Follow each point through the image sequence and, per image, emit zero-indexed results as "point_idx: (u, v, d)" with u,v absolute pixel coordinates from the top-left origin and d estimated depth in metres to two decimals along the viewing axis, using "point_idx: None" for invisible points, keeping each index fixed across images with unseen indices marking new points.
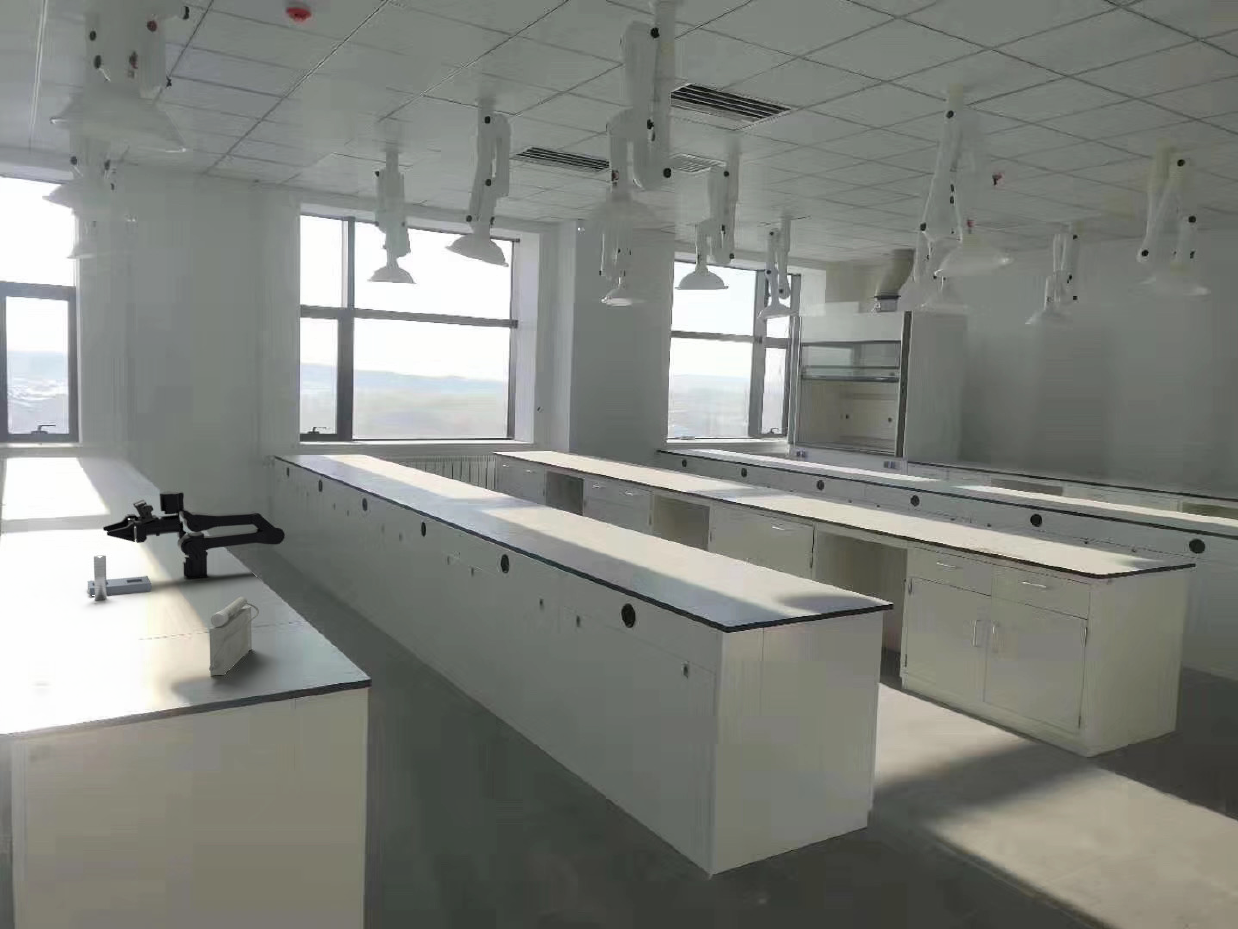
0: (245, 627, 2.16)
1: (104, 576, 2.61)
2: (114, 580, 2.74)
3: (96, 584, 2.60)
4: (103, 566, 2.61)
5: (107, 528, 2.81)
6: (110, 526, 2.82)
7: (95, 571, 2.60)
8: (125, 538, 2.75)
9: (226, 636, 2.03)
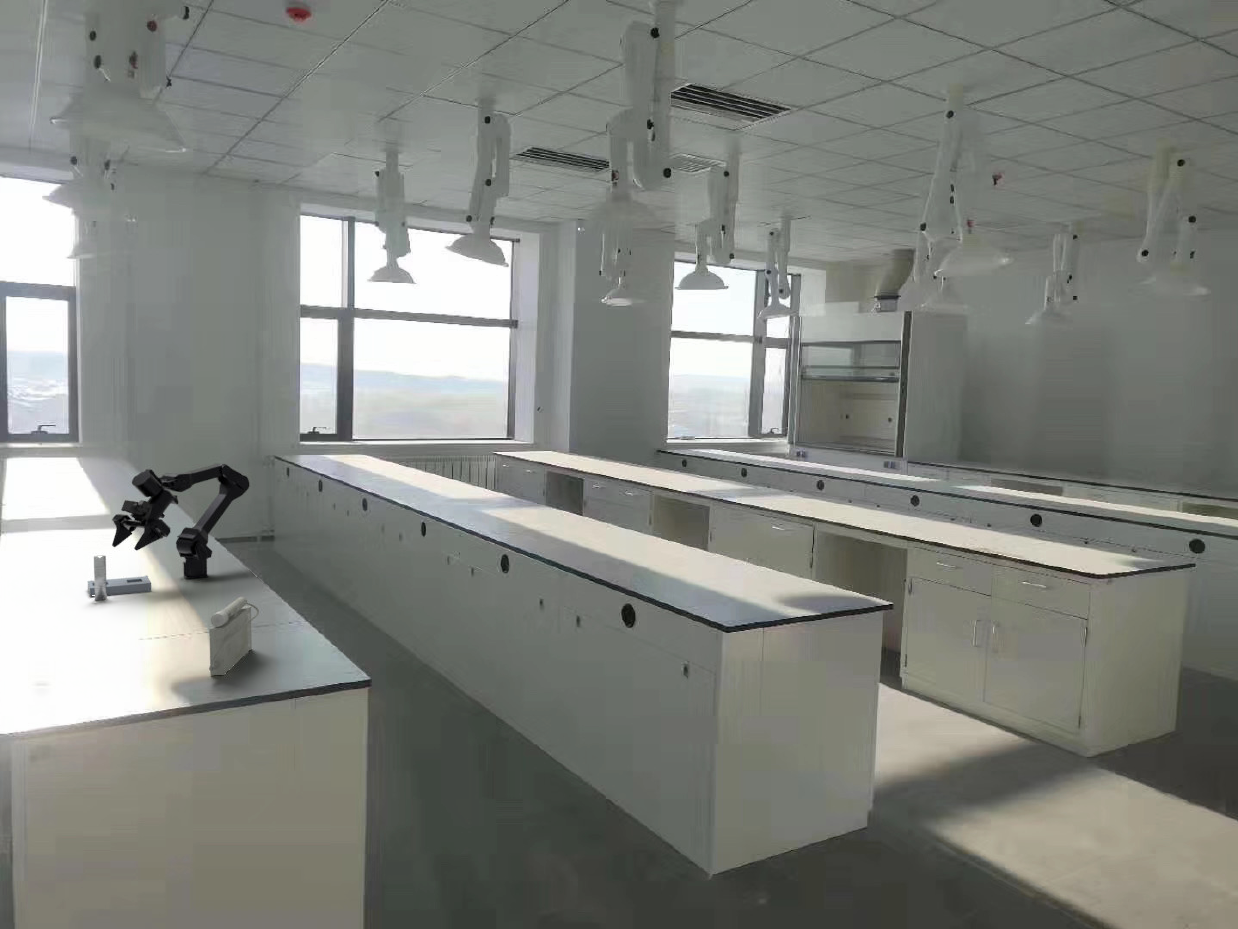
0: (245, 627, 2.16)
1: (104, 576, 2.61)
2: (114, 580, 2.74)
3: (96, 584, 2.60)
4: (103, 566, 2.61)
5: (116, 543, 2.71)
6: (116, 540, 2.71)
7: (95, 571, 2.60)
8: (152, 541, 2.70)
9: (226, 636, 2.03)
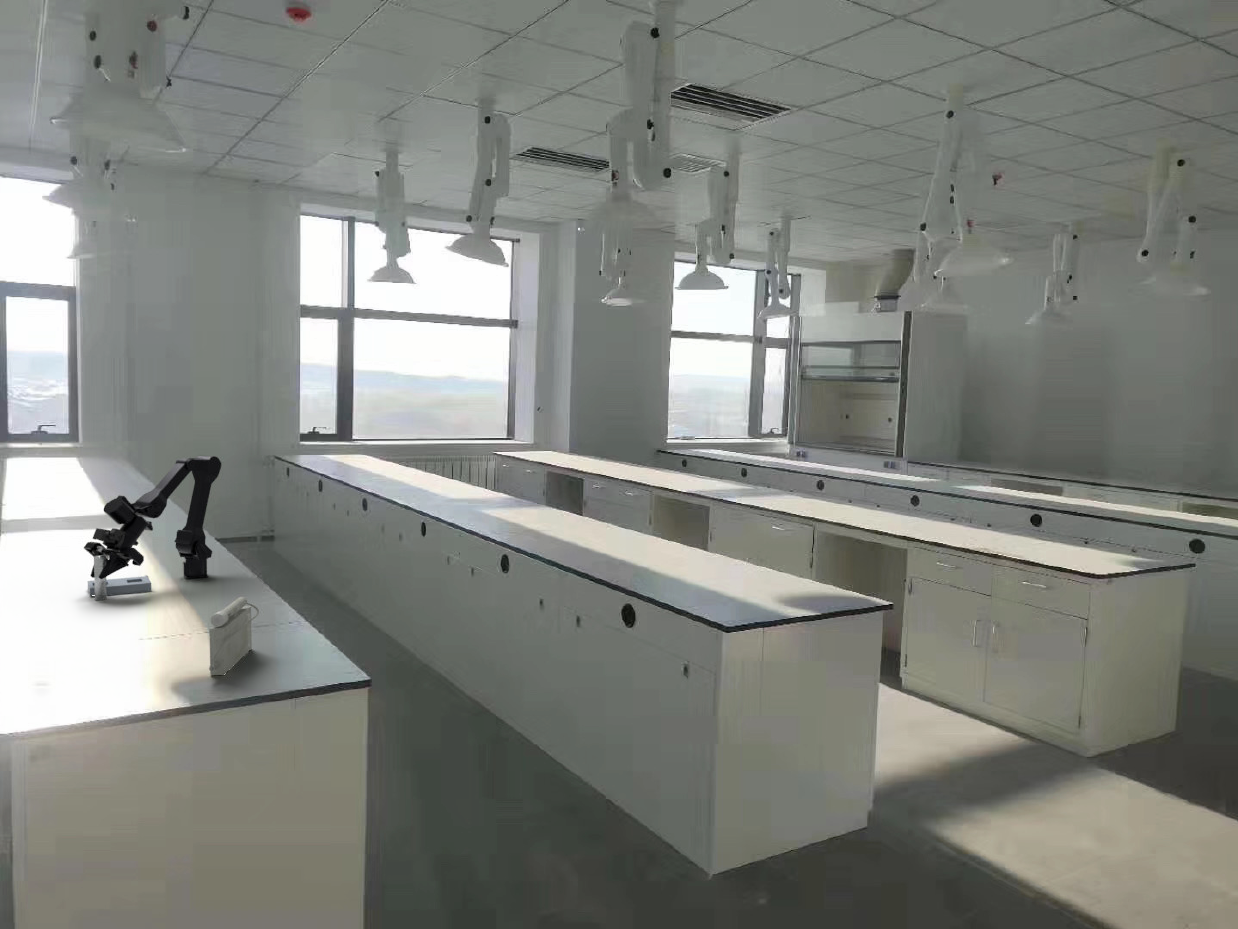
0: (245, 627, 2.16)
1: None
2: (114, 580, 2.74)
3: (96, 584, 2.60)
4: (103, 566, 2.61)
5: None
6: None
7: (95, 571, 2.60)
8: (117, 569, 2.63)
9: (226, 636, 2.03)
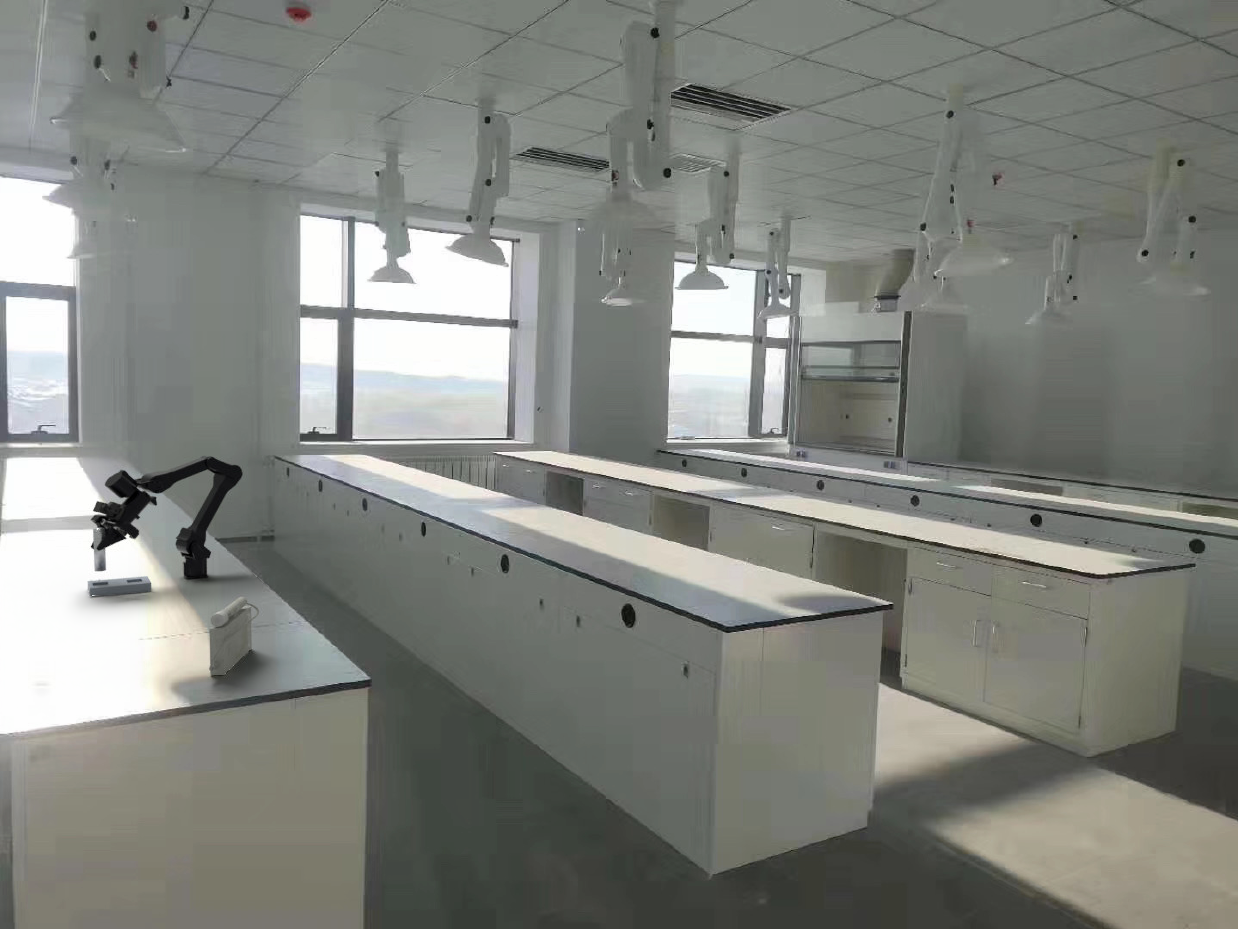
0: (245, 627, 2.16)
1: None
2: (114, 580, 2.74)
3: (95, 555, 2.67)
4: (101, 538, 2.67)
5: None
6: None
7: (94, 543, 2.67)
8: (115, 541, 2.69)
9: (226, 636, 2.03)
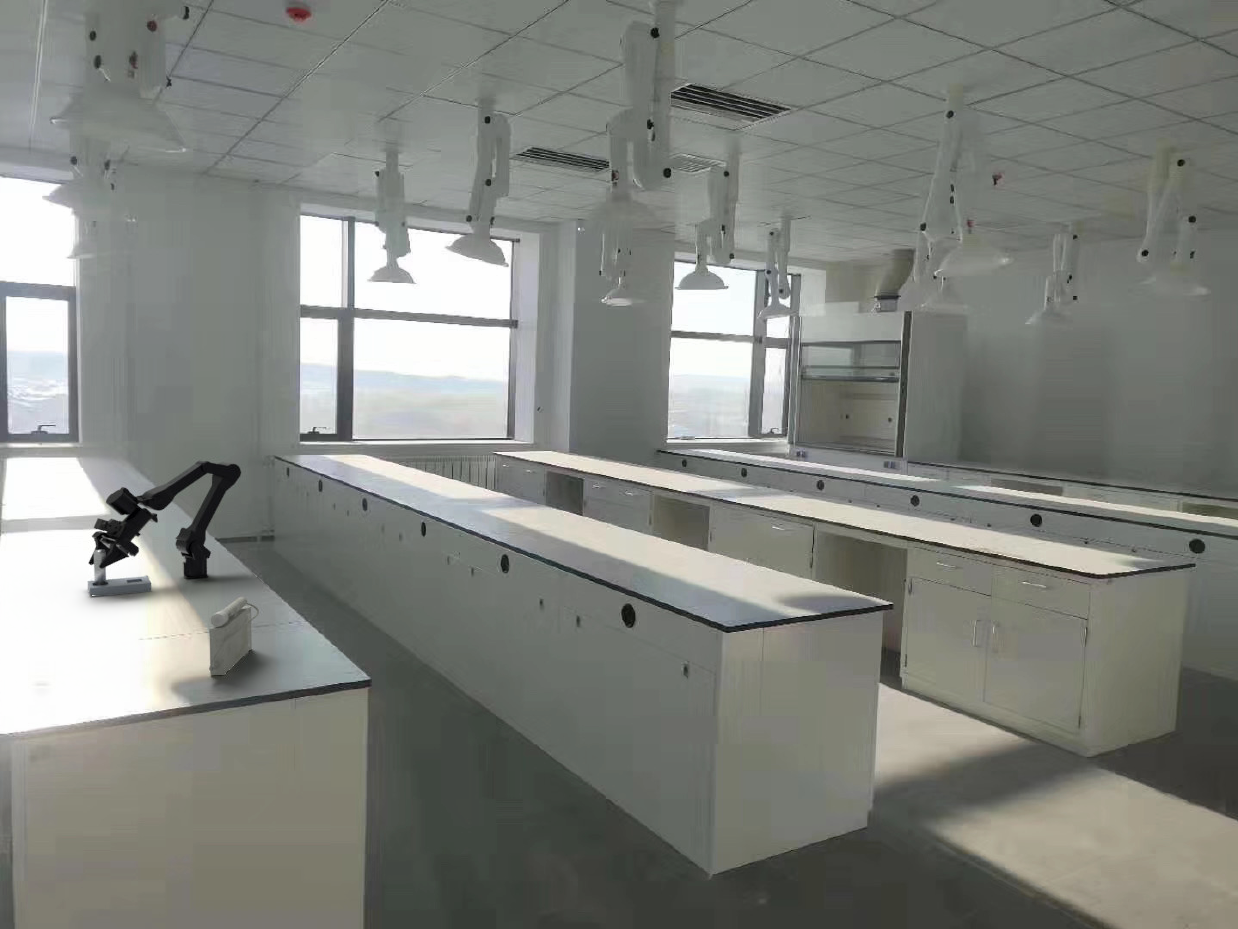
0: (245, 627, 2.16)
1: (102, 570, 2.69)
2: (114, 580, 2.74)
3: (95, 577, 2.68)
4: (101, 560, 2.68)
5: (92, 561, 2.71)
6: (93, 558, 2.71)
7: (94, 565, 2.68)
8: (118, 559, 2.69)
9: (226, 636, 2.03)
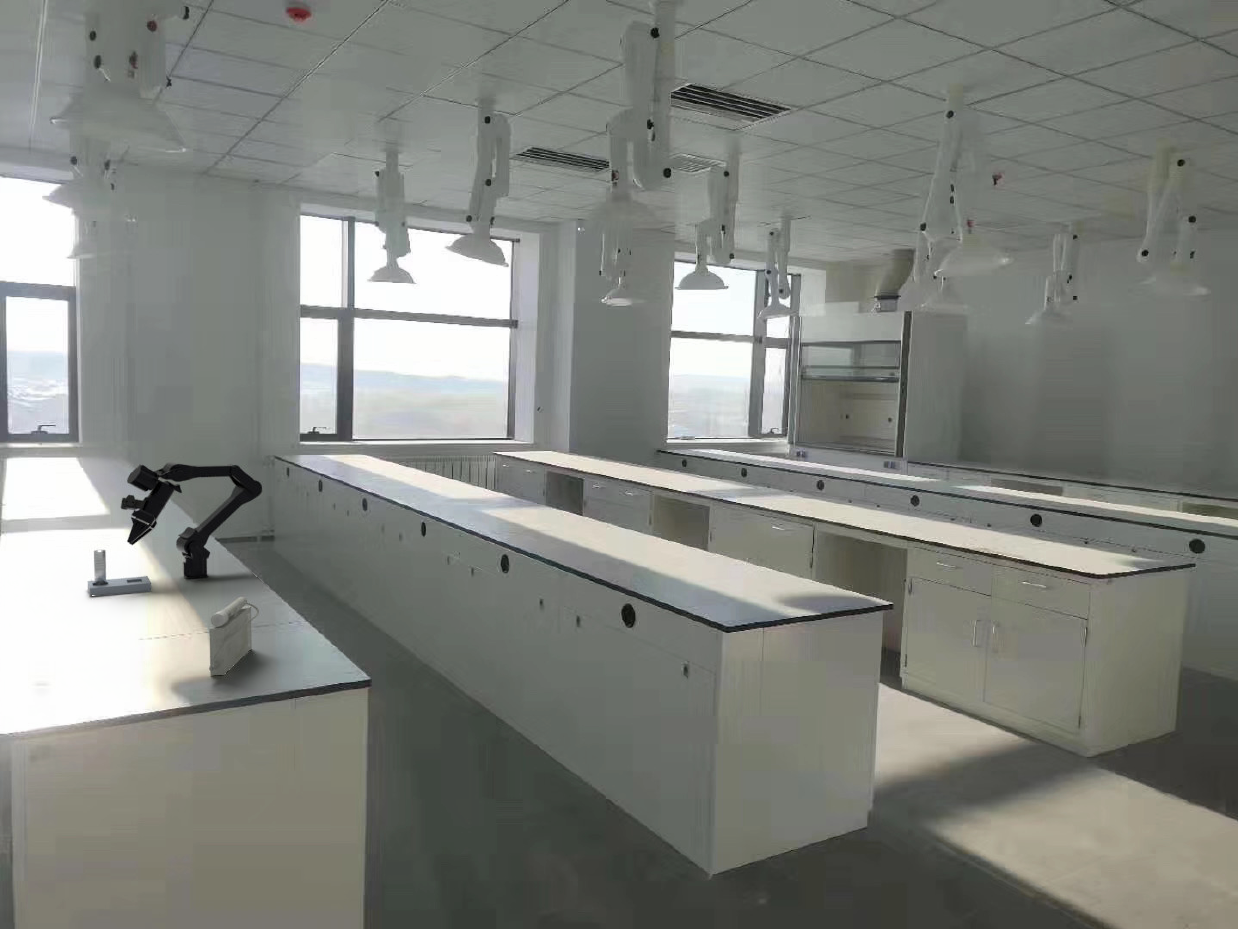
0: (245, 627, 2.16)
1: (103, 570, 2.69)
2: (114, 580, 2.74)
3: (95, 577, 2.68)
4: (102, 560, 2.68)
5: (132, 541, 2.82)
6: None
7: (94, 565, 2.68)
8: (142, 531, 2.74)
9: (226, 636, 2.03)
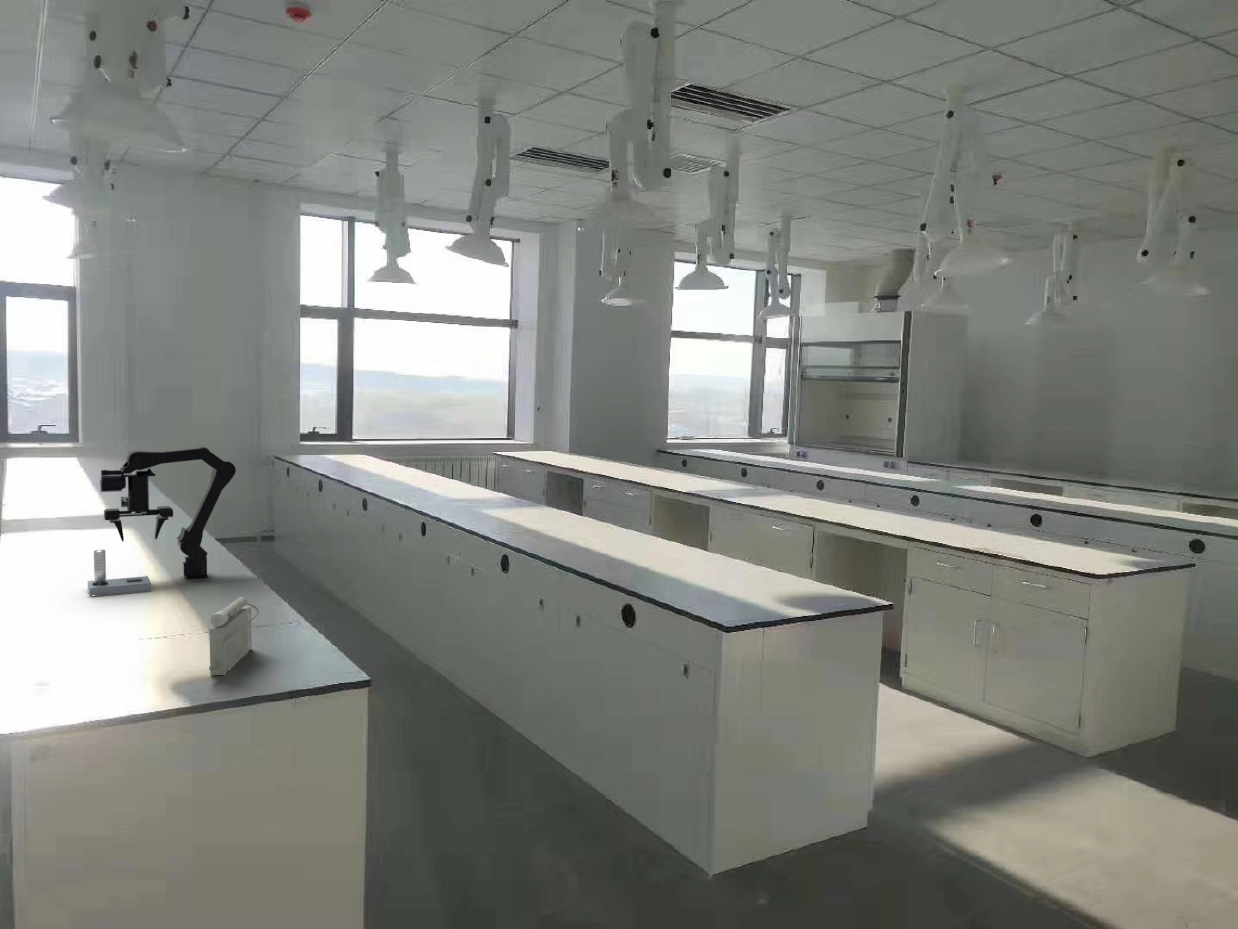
0: (245, 627, 2.16)
1: (103, 570, 2.69)
2: (114, 580, 2.74)
3: (95, 577, 2.68)
4: (101, 560, 2.68)
5: (155, 535, 2.86)
6: (155, 532, 2.86)
7: (94, 565, 2.68)
8: (117, 527, 2.78)
9: (226, 636, 2.03)
